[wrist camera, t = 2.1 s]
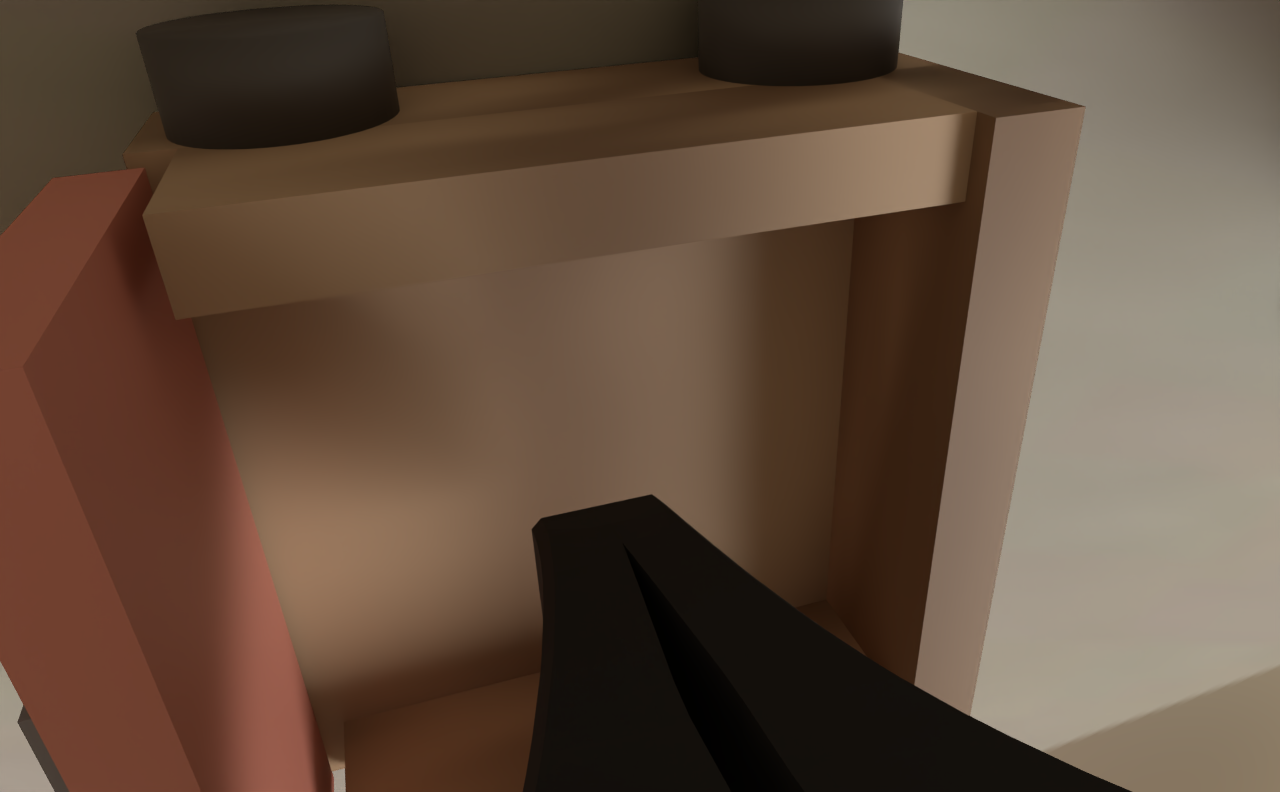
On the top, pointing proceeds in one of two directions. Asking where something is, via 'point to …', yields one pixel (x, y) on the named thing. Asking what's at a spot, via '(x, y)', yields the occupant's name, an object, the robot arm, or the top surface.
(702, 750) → the robot arm
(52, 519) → the panel
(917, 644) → the box
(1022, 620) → the top surface
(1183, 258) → the top surface
